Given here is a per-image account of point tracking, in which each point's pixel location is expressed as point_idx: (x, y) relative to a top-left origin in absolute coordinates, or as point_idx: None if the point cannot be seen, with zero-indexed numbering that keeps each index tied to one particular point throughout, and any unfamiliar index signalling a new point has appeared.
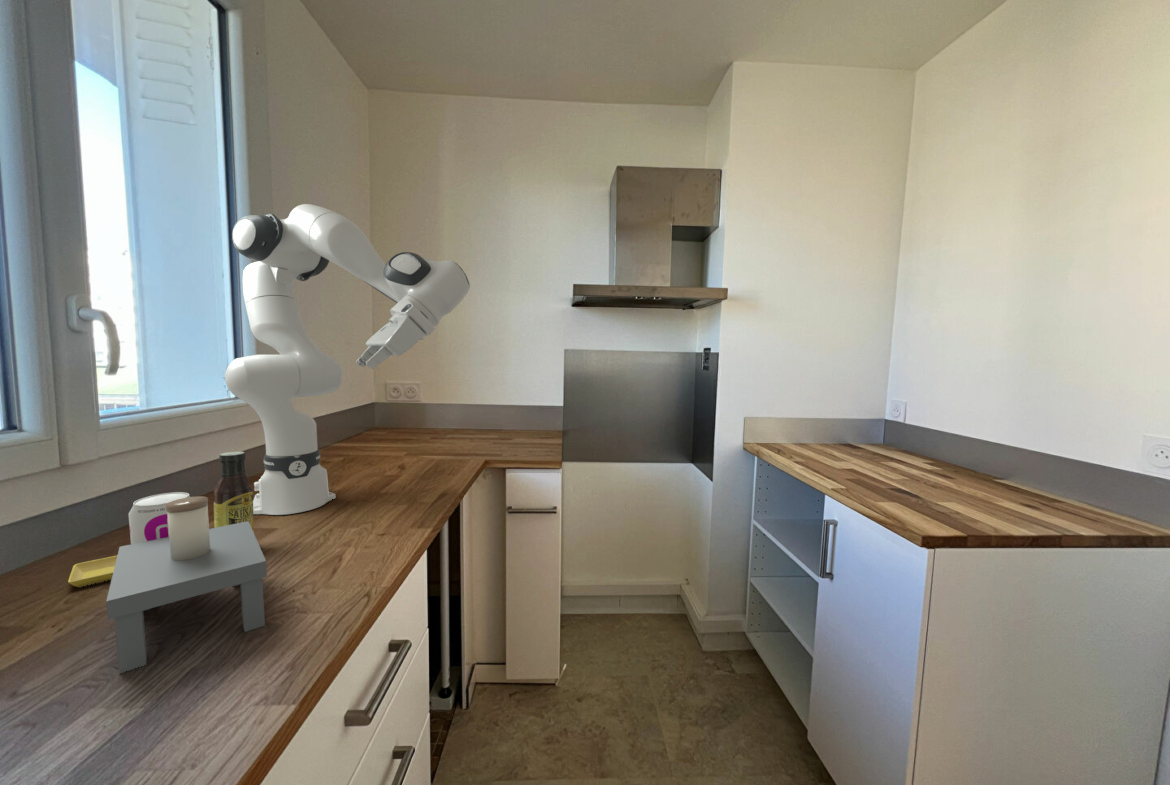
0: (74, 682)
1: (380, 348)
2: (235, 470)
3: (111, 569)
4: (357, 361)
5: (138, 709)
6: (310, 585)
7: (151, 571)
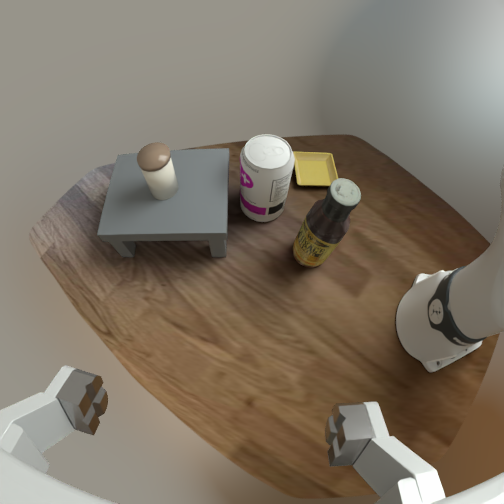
0: None
1: (9, 436)
2: (324, 205)
3: (321, 174)
4: (342, 404)
5: (94, 199)
6: (163, 299)
7: None
